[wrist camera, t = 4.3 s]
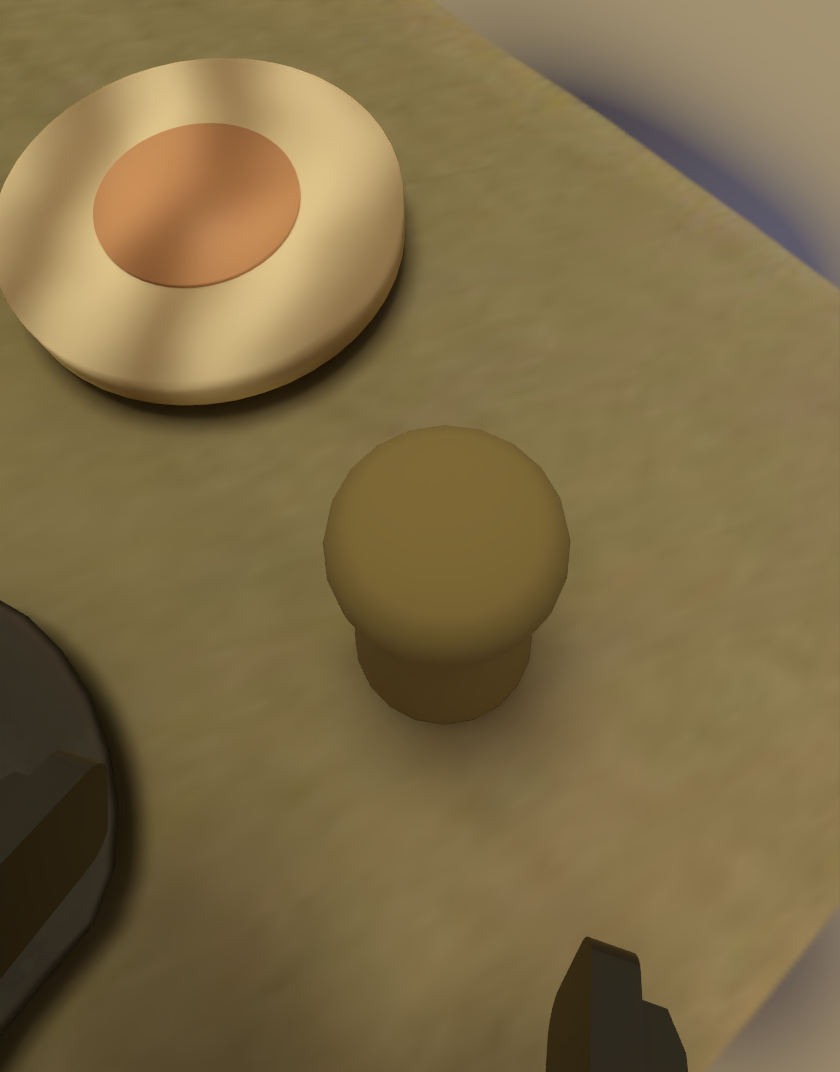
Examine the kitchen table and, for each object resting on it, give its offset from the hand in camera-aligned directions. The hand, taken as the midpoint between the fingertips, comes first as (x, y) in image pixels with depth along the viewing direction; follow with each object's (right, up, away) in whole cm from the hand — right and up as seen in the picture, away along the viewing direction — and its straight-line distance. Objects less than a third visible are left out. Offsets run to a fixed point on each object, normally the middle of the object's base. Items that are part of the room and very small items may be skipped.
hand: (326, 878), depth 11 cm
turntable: (-7, +18, +18) cm, 26 cm away
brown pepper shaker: (+2, +2, +13) cm, 13 cm away
